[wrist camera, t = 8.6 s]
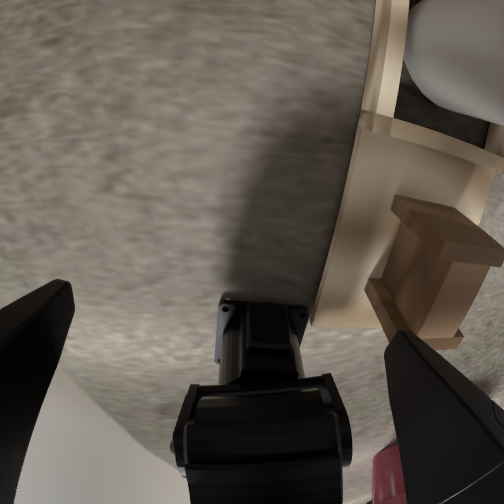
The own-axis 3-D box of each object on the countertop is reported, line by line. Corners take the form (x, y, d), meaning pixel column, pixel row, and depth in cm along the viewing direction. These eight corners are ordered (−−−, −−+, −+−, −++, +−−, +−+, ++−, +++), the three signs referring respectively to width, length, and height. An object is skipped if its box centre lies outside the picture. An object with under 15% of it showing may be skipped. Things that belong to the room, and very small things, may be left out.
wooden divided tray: (428, 321, 24) (461, 379, 18) (309, 318, 23) (327, 392, 17) (510, 30, 12) (577, 34, 6) (379, -38, 11) (436, -76, 5)
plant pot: (379, 435, 35) (400, 516, 24) (455, 420, 36) (481, 486, 25) (344, 474, 42) (355, 538, 31) (413, 461, 43) (429, 517, 32)
